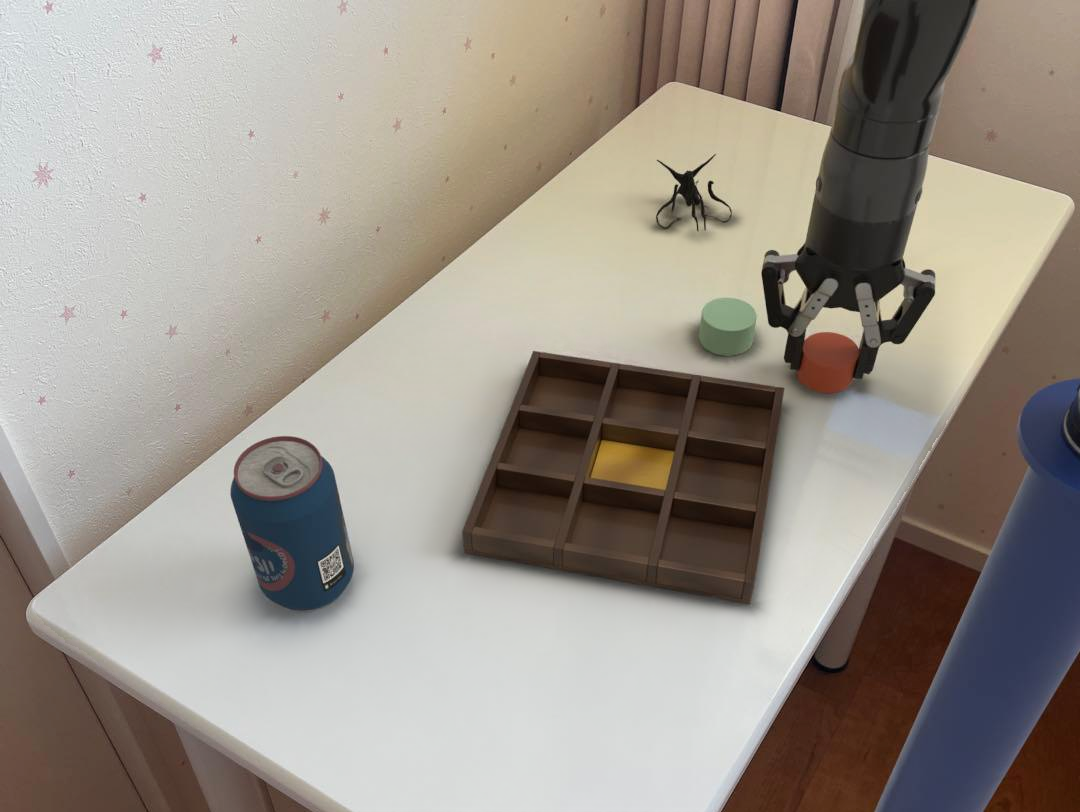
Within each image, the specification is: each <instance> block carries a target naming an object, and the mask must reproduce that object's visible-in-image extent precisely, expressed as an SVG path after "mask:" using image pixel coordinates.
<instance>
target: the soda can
mask: <svg viewBox="0 0 1080 812" xmlns="http://www.w3.org/2000/svg"><path fill="white" fill-rule="evenodd" d="M229 493H230V499H231V502H232V506H233V509H234V511H235V514H236V518H237V521H238V524H239V528H240V530H241V533H242V536H243V540H244V543H245V546H246V549H247V552H248V555H249V558H250V561H251V564H252V567H253V570H254V573H255V577H256V581H257V583H258V586H259V589H260V590H261V592H262V594H263V595H264V596H266V597H267V598H268V599H269V600H270V601H271V602H273V603H274V604H276V605H278V606H280V607H283V608H285V609H287V610H290V611H295V612H313V611H317V610H321V609H323V608H326V607H328V606H329V605H331V604H333V603H334V602H335V601H336V600H337V599H338V598H339V597H340V596H341V595H342V594H343V593H344V591H345V590H346V588H347V587H348V586H349V584H350V582H351V580H352V577H353V575H354V570H355V561H354V556H353V551H352V546H351V543H350V538H349V533H348V529H347V525H346V521H345V516H344V510H343V507H342V503H341V497H340V493H339V489H338V484H337V479H336V475H335V472H334V469H333V467H332V465H331V464H330V463H329V461H328V460H327V459H326V458H325V457H324V456H322V455H321V452H320V450H319V449H318V448H317V447H316V446H315V445H314V444H313V443H311V442H310V441H308V440H306V439H304V438H301V437H299V436H298V437H297V436H291V435H280V436H273V437H268V438H265V439H262V440H260V441H257V442H255V443H253V444H252V445H250V446H249V447H247V448H246V449H245V450H244V451H243V452H242V453H241V454H240V455H239V456H238V458H237V460H236V461H235V464H234V467H233V478H232V481H231V485H230V492H229Z"/></svg>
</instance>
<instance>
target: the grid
mask: <svg viewBox="0 0 1080 812" xmlns="http://www.w3.org/2000/svg"><path fill="white" fill-rule="evenodd" d="M784 394H785V388H784V387H781V386H775V385H769V384H763V383H762V384H761V383H754V382H748V381H742V380H734V379H727V378H721V377H720V378H719V377H713V376H708V375H707V376H706V375H700V374H694V373H686V372H679V371H674V370H665V369H659V368H652V367H647V366H646V367H645V366H640V365H632V364H625V363H619V362H612V361H605V360H598V359H591V358H585V357H577V356H571V355H564V354H557V353H550V352H545V351H543V352H542V351H538V350H533V351H532V353H531V356H530V358H529V360H528V364H527V365H526V368H525V371H524V374H523V376H522V378H521V381H520V383H519V386H518V388H517V391H516V393H515V396H514V399H513V401H512V403H511V406H510V409H509V412H508V414H507V416H506V418H505V421H504V424H503V427H502V429H501V432H500V434H499V437H498V439H497V442H496V444H495V446H494V449H493V452H492V454H491V457H490V460H489V462H488V465H487V467H486V470H485V473H484V475H483V478H482V480H481V482H480V485H479V487H478V490H477V492H476V495H475V499H474V501H473V502H472V505H471V508H470V511H469V513H468V516H467V518H466V521H465V523H464V526H463V529H462V530H461V531H462V532H461V533H462V534H461V535H462V544H463V553H465V554H469V555H476V556H480V557H481V556H482V557H486V558H492V559H498V560H503V561H509V562H513V563H520V564H526V565H531V566H537V567H543V568H548V569H554V570H558V571H565V572H570V573H574V574H575V573H576V574H581V575H586V576H592V577H597V578H603V579H609V580H615V581H620V582H625V583H631V584H637V585H642V586H649V587H654V588H657V589H658V588H659V589H665V590H670V591H676V592H681V593H686V594H691V595H697V596H702V597H703V596H704V597H709V598H713V599H714V598H715V599H719V600H724V601H730V602H736V603H743V604H747V605H751V603H752V597H753V593H754V589H755V583H756V577H757V570H758V563H759V557H760V550H761V546H762V545H761V544H762V537H763V532H764V526H765V518H766V512H767V505H768V499H769V494H770V493H769V491H770V487H771V479H772V472H773V465H774V458H775V452H776V446H777V440H778V435H779V433H778V432H779V426H780V421H781V414H782V407H783V401H784Z"/></svg>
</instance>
